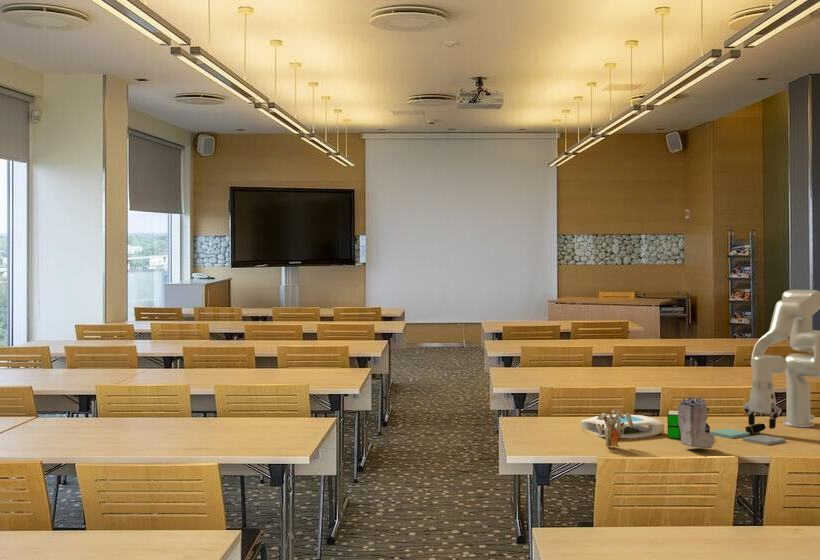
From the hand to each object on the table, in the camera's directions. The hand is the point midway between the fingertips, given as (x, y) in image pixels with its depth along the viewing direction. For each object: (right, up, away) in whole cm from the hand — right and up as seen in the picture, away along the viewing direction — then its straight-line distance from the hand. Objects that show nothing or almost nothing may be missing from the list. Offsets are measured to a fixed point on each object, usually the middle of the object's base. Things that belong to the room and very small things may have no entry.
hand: (761, 426), depth 338 cm
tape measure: (+1, -3, 0) cm, 3 cm away
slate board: (-5, -4, -13) cm, 14 cm away
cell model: (-36, -4, -25) cm, 44 cm away
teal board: (-13, -4, 0) cm, 14 cm away
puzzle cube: (-35, -4, -3) cm, 36 cm away
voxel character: (-68, -4, -24) cm, 72 cm away
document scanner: (-57, -4, +6) cm, 58 cm away
